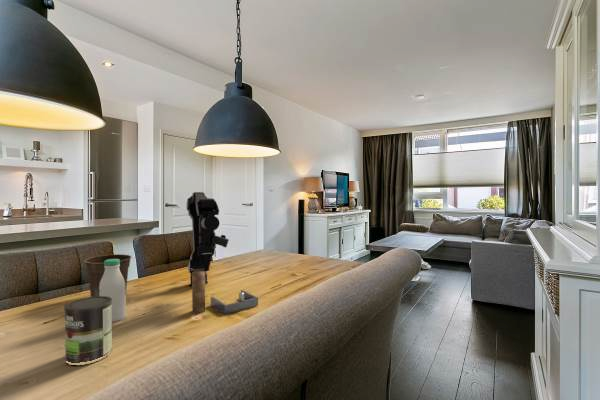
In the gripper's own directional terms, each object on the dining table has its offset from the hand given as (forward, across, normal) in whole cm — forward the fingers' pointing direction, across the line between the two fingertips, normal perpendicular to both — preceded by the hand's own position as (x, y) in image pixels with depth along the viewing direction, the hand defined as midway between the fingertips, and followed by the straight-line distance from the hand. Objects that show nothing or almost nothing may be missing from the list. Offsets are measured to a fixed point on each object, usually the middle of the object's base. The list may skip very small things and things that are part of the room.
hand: (207, 268), depth 126 cm
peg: (+13, -12, +3) cm, 18 cm away
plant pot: (+11, +11, +39) cm, 42 cm away
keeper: (+13, -9, -10) cm, 19 cm away
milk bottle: (+13, -13, +30) cm, 35 cm away
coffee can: (+14, -38, +28) cm, 49 cm away
